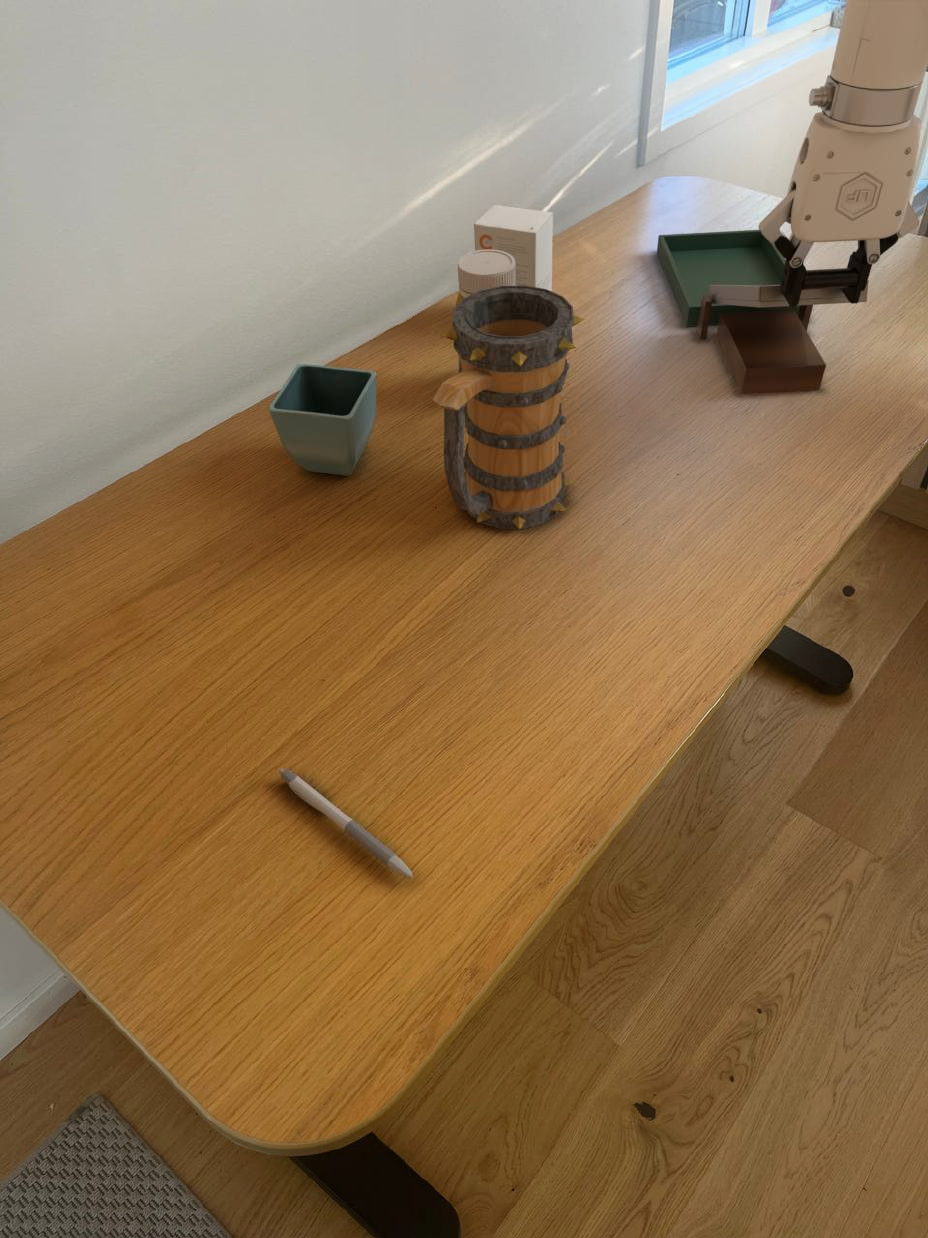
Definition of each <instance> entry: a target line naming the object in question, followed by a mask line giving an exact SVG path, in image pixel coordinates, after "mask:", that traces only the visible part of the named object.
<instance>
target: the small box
mask: <svg viewBox="0 0 928 1238" xmlns="http://www.w3.org/2000/svg"><path fill="white" fill-rule="evenodd" d="M473 231H474V232H473V234H474V251H477V250H486V249H491V250H500V251H504V252H506V253H509V254H510V255H512V256H513V257H514V259H515V285H526V286H531V287H537V288H543V289H547V290H549V291H552V288H553V286H552V284H553V238H554V237H553V234H554V233H553V232H554V212H552V211H544V210H538V209H537V210H536V209H530V208H521V207H513V206H505V205H499V204H492V205H491V206H490V208H489V209H488V210H486V212H484V214H483V215H481V217H479V218H478V220H476V221H475V222H474V223H473Z"/></svg>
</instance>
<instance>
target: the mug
mask: <svg viewBox="0 0 928 1238" xmlns="http://www.w3.org/2000/svg"><path fill="white" fill-rule="evenodd" d="M451 318H452V319H451V323H452V328H451V329H449V330H448V331H446V332H444V333H443V334H441V335H440V337H442V338H443V339H444V338H445V339H448V340H450V341H453V343H452V344H453V349H454V350H455V352H456V353H457V355H458V354H459V356H460V364H459V363H458V373H456V374H454V375H452V376H451V377H449V378H448V379H446V380H445V381H443V382H442V383H441V385H440V386H439V388H438V389H437V390H436V392H435V394H434V396H433V398H432V401H434V402H435V403H436V404H438V405H439V407H441V408H443V423H444V425H443V428H444V430H443V465H444V467H443V469H444V474H445V477H446V481H447V486H448V490H449V492H450V494H451V498H452V499H453V501H454V503H455V505H456V506H457V508H458V509H459V510H465V511H467V513H468V515H469V516H471V517H472V518H473V519H475V520H476V524H478V523H481V524H483V525H486V526H490V527H492V528H497V529H501V530H525V529H529V528H533V527H536V526H540V525H544V524H545V523H547V522H548V521H550V520H551V519H552V518H554V517H555V516H557V515H558V514H559V513H560V512H567V509H566V508H565V507H564V504H565V490H566V486H568V485H570V484H573V483H574V482H575V480H573V479H569V478H566V477H565V474H564V472H563V470H562V469H563V467H564V453H565V452H566V447H565V445H564V444H561V442H560V441H559V431H560V429H561V427H562V426H564V425H565V424H566V422H567V418H566V416H564V415H563V410H562V409H563V408H562V407H563V406H562V402H561V393H562V391H563V387H564V384H565V381H566V379H567V374H568V371H569V370H570V363H568V359H567V354H568V353H569V352H570V350H574V349H576V348H577V347H576V346H574V343H573V341H574V339H573V329H572V328H573V327H574V326H576V325H579V323H582V322H583V321H585V320H586V319H585V318H582V317H579V316H577V315H574V307H573V305H572V304H571V303H570V302H569V301H568V300H567V299H566V298H565V297H564V296H563V295H561V294H558V293H556V292H553V291H552V290H551V291H549V290H547V289H543V288H537V287H531V286H526V285H515V286H498V287H494V288H489V289H484V290H480V291H478V292H476V293H474V294H472V295H469V296H467V297H465V298H463V300H462V301H461V302H460V303H459V304H458V305H457V306H456V305H455V306H454V308H453V311H452V317H451ZM465 429H466V433H467V443H466V445H465V450H464V442H465V441H464V440H465Z"/></svg>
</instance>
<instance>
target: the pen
mask: <svg viewBox="0 0 928 1238" xmlns="http://www.w3.org/2000/svg"><path fill="white" fill-rule="evenodd" d="M278 772H279V774H280V777H281V778H282V780H283V781H284V782H285V783H286V784H287V785H288V786H289V788H290V790H292V792H293V793H294V794H295V795H297V796H298V797H299V798H300V799H301V800H303V801H304V802H305V803H306V804H308V805H309V806H311V807H312V808H314V809H315V810H317V811H318V812H321V814H323V815H325V816H326V817H327V818H329V819H330V820H331V821H332V822H333V823H335V824H336V825H337V826H338V827H340V829H341V830H342V831H344V833H346V834H347V835H348V836H349V837H351V838H352V839H353V840H355V841H356V842H357V843H358V844H359V845H361V846H362V847H363V848H364V849H365V850H366V851H368V852H369V853H370V854H371V855H373V856H374V857H375V858H376V859H377V860H379V861H380V862H381V863H383V864H384V865H385V866H386V867H388V868H390V869H391V870H392V871H394V872H395V873H397V874H399V875H400V876H402V877H404V878H407V879H414V875H413V873H412V871H411V869H410V868H409V867H408V866H407V864H406V863H405V862H404V861H403V860H402V859H401V857H399V856H398V855H397V854H396V853H395V852H394V851H392V850H391V849H390V848H389V847H387V846H386V845H385V844H384V843H383V842H381V841H380V840H378V839H377V838H376V837H375V836H374V835H372V834H371V833H370V832H369V831H367V830H366V829H365V828H364V827H363V826H361V825H360V824H359V823H357V822H356V821H355V820H354V819H353V818H351V817H349V816H348V815H347V814H345V813H344V812H343V811H342V810H341V809H339V808H338V807H337V806H336V805H334V804H333V803H332V802H331V801H329V799H327V798H326V797H325V796H323V795H322V794H321V793H320V792H319V791H317V790H316V789H314V788H313V786H311V785H310V784H308V783H307V782H306V781H305V780H304V779H302V777H300V776H298V775H297V773H295V772H294V771H291V770H290V769H284V768H283V767H281V768H280V769H279V770H278Z"/></svg>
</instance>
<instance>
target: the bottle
mask: <svg viewBox="0 0 928 1238" xmlns="http://www.w3.org/2000/svg"><path fill="white" fill-rule="evenodd" d="M457 281H458V295H457V297H456V301H455V307H456V306H457V305H458V304H459V303H460V302H461V301H462V300H463V298H465V297H467V296H469V295H472V294H474V293H476V292H478V291H480V290H484V289H489V288H494V287H498V286H515V259H514V257H513V256H512V255H510V254H509V253H506V252H504V251H500V250H491V249H486V250H477V251H475V250H473V251H470V252H467V253H465V254H463V255H461V257H460V258H459V259H458V261H457ZM457 359H458V360H457V361H458V365H459V364H460V356H459V354H458V353H457Z"/></svg>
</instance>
